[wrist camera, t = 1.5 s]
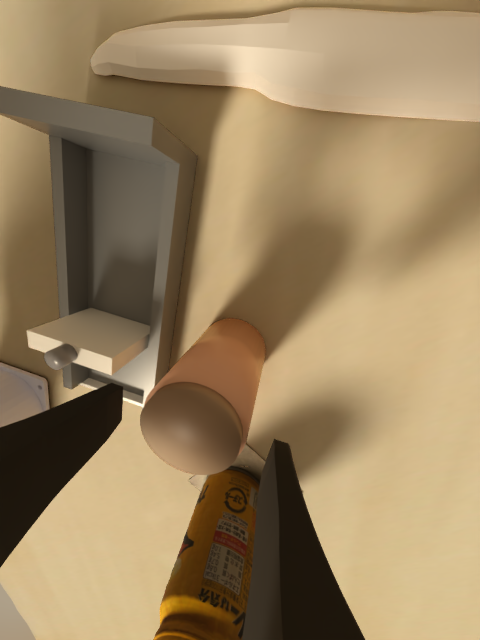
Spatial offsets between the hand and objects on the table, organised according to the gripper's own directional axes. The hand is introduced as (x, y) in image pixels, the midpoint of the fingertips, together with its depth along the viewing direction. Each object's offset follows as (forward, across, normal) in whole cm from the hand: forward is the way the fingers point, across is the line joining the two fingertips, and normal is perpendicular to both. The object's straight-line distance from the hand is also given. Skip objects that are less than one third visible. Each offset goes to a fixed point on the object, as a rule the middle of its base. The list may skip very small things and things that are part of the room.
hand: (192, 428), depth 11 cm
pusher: (+8, +9, 0) cm, 12 cm away
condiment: (+8, -4, +14) cm, 17 cm away
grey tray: (+8, +9, -2) cm, 13 cm away
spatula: (+9, -2, -17) cm, 19 cm away
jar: (+8, 0, 0) cm, 8 cm away
